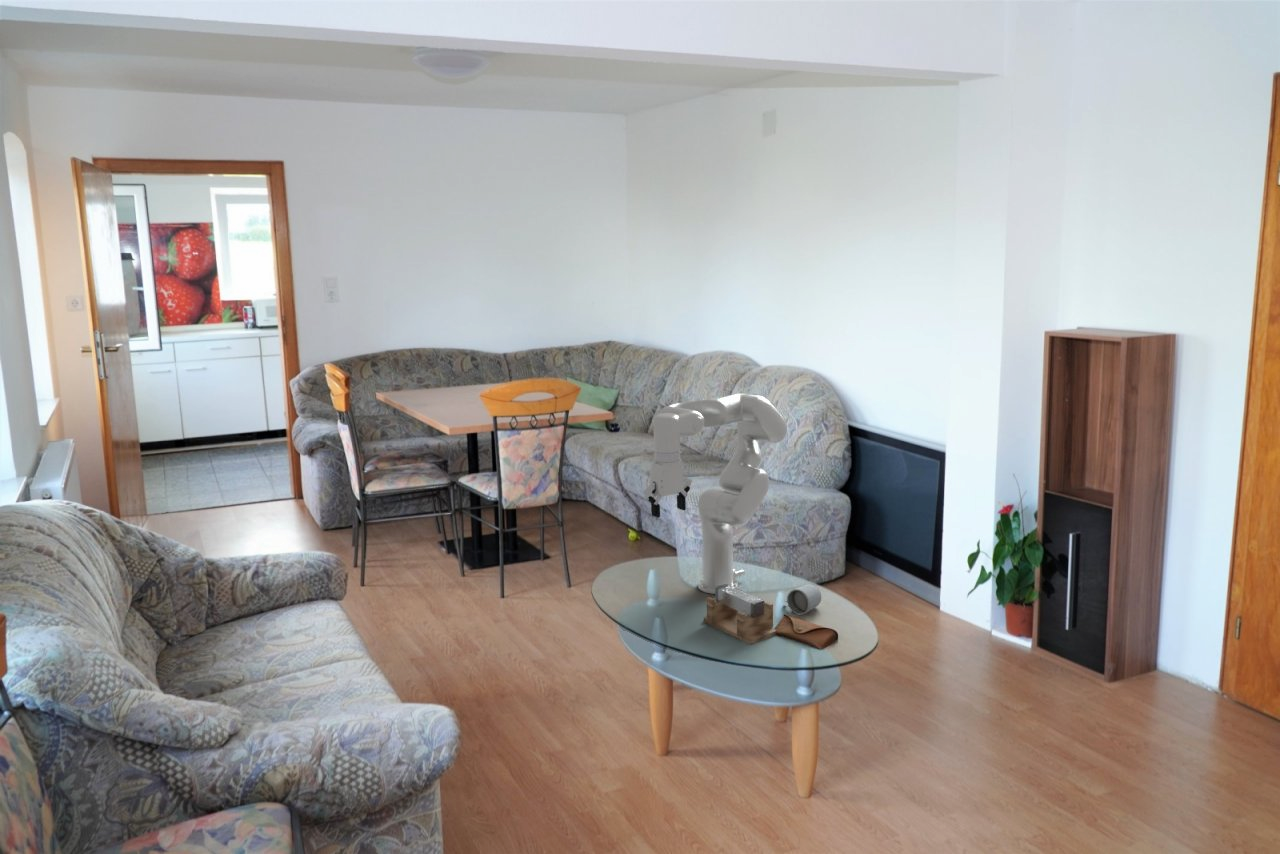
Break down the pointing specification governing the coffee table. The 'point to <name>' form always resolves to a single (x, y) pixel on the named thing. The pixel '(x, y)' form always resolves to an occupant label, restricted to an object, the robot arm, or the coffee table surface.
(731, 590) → the rail
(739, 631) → the rack
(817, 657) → the coffee table surface
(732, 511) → the robot arm
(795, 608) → the ceramic mug
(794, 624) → the sunglasses case
